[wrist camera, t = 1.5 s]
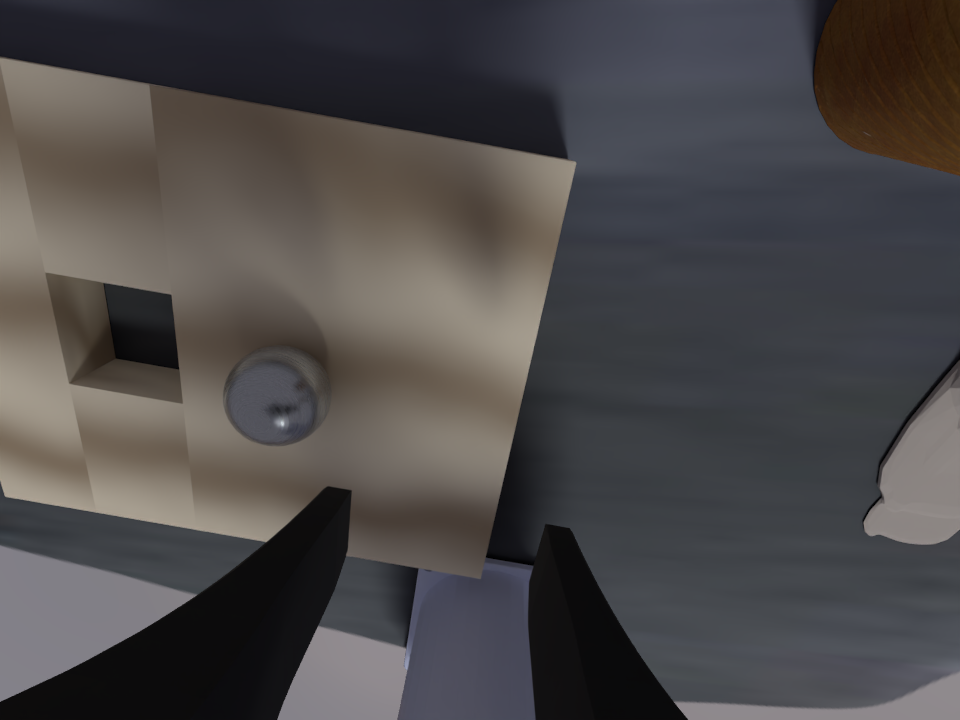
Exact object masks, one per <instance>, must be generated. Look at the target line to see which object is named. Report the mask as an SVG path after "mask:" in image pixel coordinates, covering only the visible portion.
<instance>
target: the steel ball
mask: <svg viewBox="0 0 960 720" xmlns="http://www.w3.org/2000/svg"><path fill="white" fill-rule="evenodd" d="M331 400H332V389H331V384H330V380H329V377H328V375H327V373H326V371H325V369H324V368H323V367H322V365H321V364H320V363H319V362H318V361H317V360H316V359H315V358H314V357H312V356H311V355H310V354H308V353H307V352H305V351H303V350H300V349H298V348H294V347H290V346H282V345H275V346H268V347H263V348H260V349H257V350H255V351H253V352H251V353H249V354H248V355H246V356H244V357H243V358H242V359H241V360H240V361H238V362H237V363H236V364H235V366H234V367H233V368H232V370H231V371H230V373H229V375H228V376H227V379H226V382H225V385H224V389H223V406H224V410H225V413H226V416H227V418H228V420H229V422H230V423H231V425H232V426H233V427H234V428H235V430H236V431H237V432H238V433H240V434H241V435H242V436H243V437H245V438H247V439H248V440H250V441H252V442H255V443H258V444H261V445H265V446H286V445H291V444H294V443H297V442H300V441H302V440H303V439H305V438H307V437H309V436H310V435H311V434H312V433H314V432H315V431H316V430H317V429H318V428H319V427H320V426H321V424H322V423H323V421H324V420H325V418H326V416H327V414H328V412H329V409H330V405H331Z"/></svg>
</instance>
